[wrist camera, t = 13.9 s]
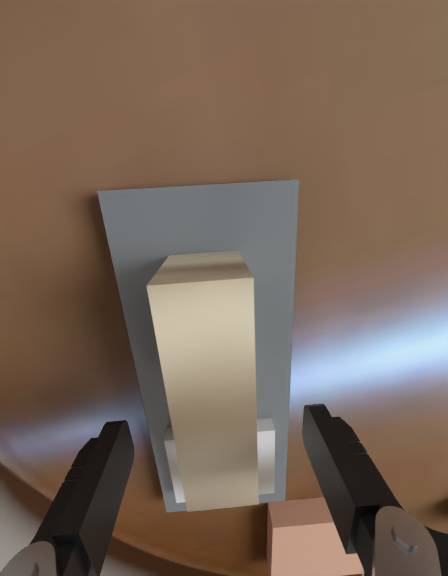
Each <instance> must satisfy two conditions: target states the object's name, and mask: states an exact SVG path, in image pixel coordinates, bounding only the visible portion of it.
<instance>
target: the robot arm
mask: <svg viewBox="0 0 448 576" xmlns="http://www.w3.org/2000/svg"><path fill="white" fill-rule="evenodd" d="M302 435H303V441H304V446H305V449H306V451H307V454H308V457H309V459H310V462H311V464H312V467H313V470H314V472H315V475H316V477H317V480H318V483H319V485H320V488H321V490H322V493H323V496H324V498H325V501H326V503H327V506H328V509H329V511H330V514H331V516H332V519H333V522H334V524H335V527H336V529H337V532H338V535H339V537H340V540H341V542H342V545H343V548H344V550H345V553H346V554H355V553H357V555H358V557H359V560H360V562H361V564H362V567H363V572H362V576H448V534H445V533H442V532H438V531H435V530H432V529H430V528H428V527H426V526H424V525H423V524H422V523H421V522H420V521H419V520H418V519H417V518H415V517H414V516H413V515H412V514H410V513H409V512H407V511H405V510H404V509H403V508H402V507H401V505H400V504H399V503H398V501H397V500H396V498H395V497H394V495H393V493H392V492H391V490H390V489H389V487H388V485H387V484H386V482H385V481H384V479H383V477H382V476H381V474H380V473H379V471H378V469H377V468H376V466H375V465H374V463H373V461H372V460H371V458H370V457H369V455H367V452H366V450H365V448H364V447H363V445H362V444H361V443H360V440H359V439H358V437H357V436H356V434H355V432H354V431H353V429H352V428H351V427H350V426H349V425H348V424H347V423H346V422H345V421H344V420H342V419H341V418H340V417H331V415H330V413H329V411H328V410H327V408H326V406H325V405H324V404H314V405H305V406H304V414H303V429H302ZM133 459H134V445H133V441H132V437H131V433H130V429H129V426H128V422H127V421H126V420H123V421H112V422H106V423H105V425H104V426H103V428H102V431H101V433H100V435H99V437H98V438H91V439H90V440H89V441H88V442H87V443H86V444H85V446H84V447H83V448H82V449H81V450H80V451H79V453H78V455H77V457H76V458H75V460H74V462H73V464H72V466H71V470H69V472H68V474H67V476H66V478H65V481H64V483H62V485H61V487H60V489H59V491H58V493H57V495H56V497H55V499H54V501H53V502H52V504H51V506H50V508H49V510H48V512H47V514H46V516H45V518H44V520H43V522H42V524H41V525H40V527H39V529H38V531H37V533H36V535H35V537H34V539H33V540H32V542H31V543H30V544H29V546H27V547H25V548H24V549H22V550H21V551H20V552H18V553H17V554H16V555H15V556H14V557H13V558H12V559H11V560H10V561H9V562H8V563H7V565H6V566H5V567H4V568H3V570H2V571H1V572H0V576H100V573H101V569H102V566H103V562H104V559H105V555H106V552H107V549H108V545H109V542H110V539H111V535H112V532H113V529H114V525H115V522H116V518H117V515H118V512H119V508H120V505H121V501H122V498H123V495H124V491H125V488H126V485H127V481H128V478H129V474H130V471H131V468H132V464H133Z"/></svg>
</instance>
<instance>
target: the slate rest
mask: <svg viewBox="0 0 448 576" xmlns="http://www.w3.org/2000/svg"><path fill="white" fill-rule="evenodd" d="M298 192H299V179H297V180H280V181H263V182H246V183H228V184H211V185H194V186H177V187H160V188H143V189H125V190H108V191H97V193H98V198H99V202H100V207H101V212H102V216H103V221H104V225H105V230H106V235H107V239H108V244H109V249H110V253H111V258H112V262H113V267H114V272H115V276H116V281H117V285H118V290H119V295H120V299H121V304H122V309H123V313H124V318H125V322H126V327H127V332H128V336H129V341H130V345H131V350H132V355H133V359H134V364H135V369H136V373H137V378H138V382H139V387H140V392H141V396H142V401H143V406H144V410H145V415H146V419H147V424H148V429H149V433H150V438H151V442H152V447H153V452H154V456H155V461H156V466H157V470H158V475H159V479H160V484H161V489H162V493H163V498H164V502H165V507H166V512H176V511H186V510H187V507H186V502H182V503H176V498H175V493H174V488H173V483H172V478H171V473H170V468H169V463H168V458H167V453H166V448H165V443H164V438H165V433H166V428H169V427H172V424H171V419H170V413H169V408H168V402H167V397H166V391H165V386H164V380H163V375H162V369H161V364H160V358H159V352H158V347H157V341H156V336H155V330H154V325H153V319H152V314H151V308H150V303H149V297H148V292H147V284H148V283H149V282H150V280H151V279H152V278H153V276H154V275H155V274H156V272H157V271H158V270H159V268H160V267H161V266H162V264H163V263H164V262H165V260H166V259H167V258H168V256H169V255H182V254H196V253H210V252H224V251H237V250H238V251H239V253H240V254H241V256H242V258H243V260H244V262H245V263H246V265H247V267H248V269H249V270H250V272H251V274H252V276H253V277H254V318H255V362H256V406H257V419H266V418H272V421H273V425H274V428H275V484H274V493H270V494H260V495H259V503H266V502H277V501H285V491H286V468H287V445H288V422H289V399H290V376H291V353H292V330H293V307H294V284H295V261H296V238H297V215H298Z"/></svg>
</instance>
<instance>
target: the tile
mask: <svg viewBox="0 0 448 576" xmlns="http://www.w3.org/2000/svg"><path fill="white" fill-rule="evenodd" d="M267 561H268V568H269V574H270V576H342V575H352V574H362V572H363V567H362V564H361V562H360V560H359V557H358V555H357V553H355V554H346V553H345V550H344V548H343V545H342V542H341V540H340V537H339V535H338V532H337V529H336V527H335V524H334V522H333V519H332V516H331V514H330V511H329V509H328V506H327V503H326V501H325V498H324V497H322V498H311V499H300V500H289V501H279V502H268V521H267Z"/></svg>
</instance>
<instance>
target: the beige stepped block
mask: <svg viewBox="0 0 448 576" xmlns="http://www.w3.org/2000/svg"><path fill="white" fill-rule="evenodd" d="M147 292H148V297H149V303H150V308H151V314H152V319H153V325H154V330H155V336H156V341H157V347H158V352H159V358H160V364H161V369H162V375H163V380H164V386H165V391H166V397H167V402H168V408H169V413H170V419H171V424H172V427H169V428H166V433H165V438H164V443H165V448H166V453H167V458H168V463H169V468H170V473H171V478H172V483H173V488H174V493H175V498H176V503H182V502H186V507H187V512H190V511H200V510H209V509H219V508H229V507H238V506H248V505H258V504H259V495H260V494H270V493H274V484H275V428H274V425H273V421H272V418H266V419H257V406H256V362H255V318H254V277H253V276H252V274H251V272H250V270H249V269H248V267H247V265H246V263H245V262H244V260H243V258H242V256H241V254H240V253H239V251H238V250H237V251H224V252H210V253H196V254H182V255H169V256H168V258H167V259H166V260H165V262H164V263H163V264H162V266H161V267H160V268H159V270H158V271H157V272H156V274H155V275H154V276H153V278H152V279H151V280H150V282H149V283H148V284H147Z"/></svg>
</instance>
